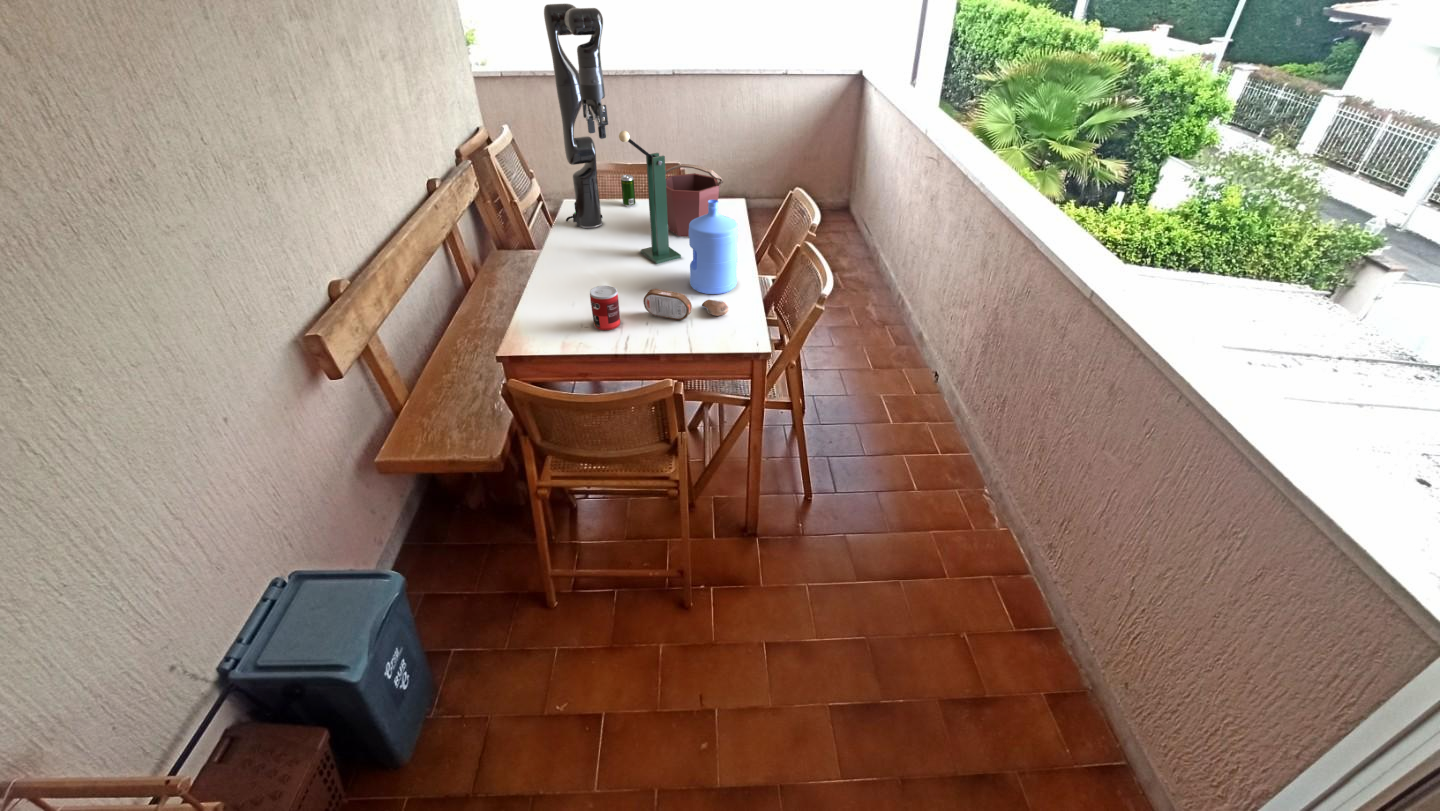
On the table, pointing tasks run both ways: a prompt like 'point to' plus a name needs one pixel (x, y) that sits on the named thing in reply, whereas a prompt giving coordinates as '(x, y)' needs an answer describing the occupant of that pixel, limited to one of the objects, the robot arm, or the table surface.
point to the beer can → (628, 190)
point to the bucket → (689, 197)
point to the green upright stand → (658, 212)
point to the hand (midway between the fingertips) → (597, 135)
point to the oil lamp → (715, 307)
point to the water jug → (713, 252)
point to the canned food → (605, 307)
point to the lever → (633, 143)
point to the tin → (667, 304)
